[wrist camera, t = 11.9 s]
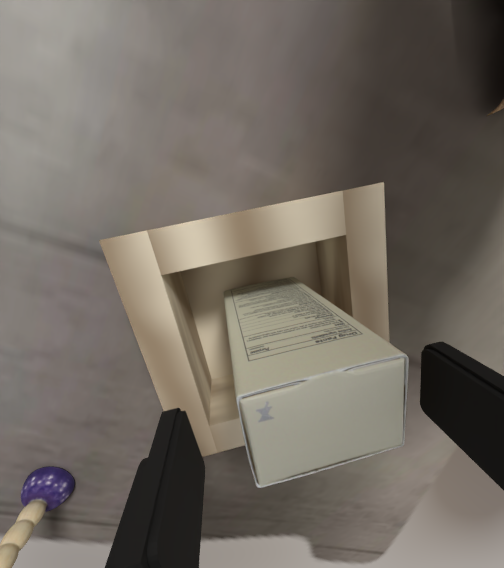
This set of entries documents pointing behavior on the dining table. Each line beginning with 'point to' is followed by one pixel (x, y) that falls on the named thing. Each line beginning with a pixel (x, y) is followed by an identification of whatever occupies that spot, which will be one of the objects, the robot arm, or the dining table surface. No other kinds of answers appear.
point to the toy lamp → (35, 508)
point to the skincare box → (310, 382)
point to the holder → (238, 273)
